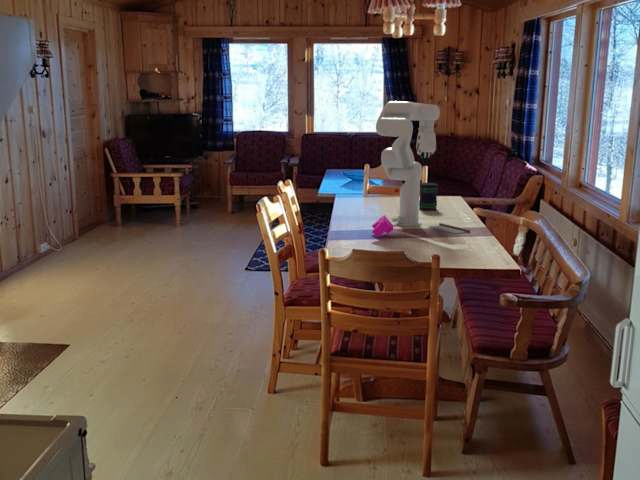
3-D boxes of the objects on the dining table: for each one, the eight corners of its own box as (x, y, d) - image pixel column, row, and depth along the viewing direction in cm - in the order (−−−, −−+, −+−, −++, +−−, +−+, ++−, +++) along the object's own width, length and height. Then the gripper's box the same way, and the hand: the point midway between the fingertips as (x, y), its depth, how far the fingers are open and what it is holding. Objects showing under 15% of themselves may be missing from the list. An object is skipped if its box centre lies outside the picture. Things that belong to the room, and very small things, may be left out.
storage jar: (423, 212, 355) (424, 185, 352) (416, 209, 364) (417, 182, 361) (439, 211, 358) (441, 184, 354) (432, 208, 367) (433, 182, 364)
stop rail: (468, 232, 301) (468, 230, 300) (439, 225, 317) (439, 223, 317) (470, 232, 301) (470, 229, 301) (440, 225, 318) (440, 223, 317)
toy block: (392, 224, 302) (380, 235, 303) (384, 214, 301) (372, 225, 302) (393, 231, 287) (381, 242, 289) (384, 220, 286) (371, 231, 288)
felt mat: (455, 234, 297) (455, 233, 297) (429, 227, 312) (429, 226, 312) (466, 232, 301) (466, 231, 301) (439, 226, 316) (439, 225, 316)
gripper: (420, 130, 326) (418, 166, 329) (442, 129, 333) (440, 165, 337) (410, 129, 332) (409, 165, 336) (432, 129, 340) (430, 164, 344)
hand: (425, 165), depth 336 cm, fingers closed
